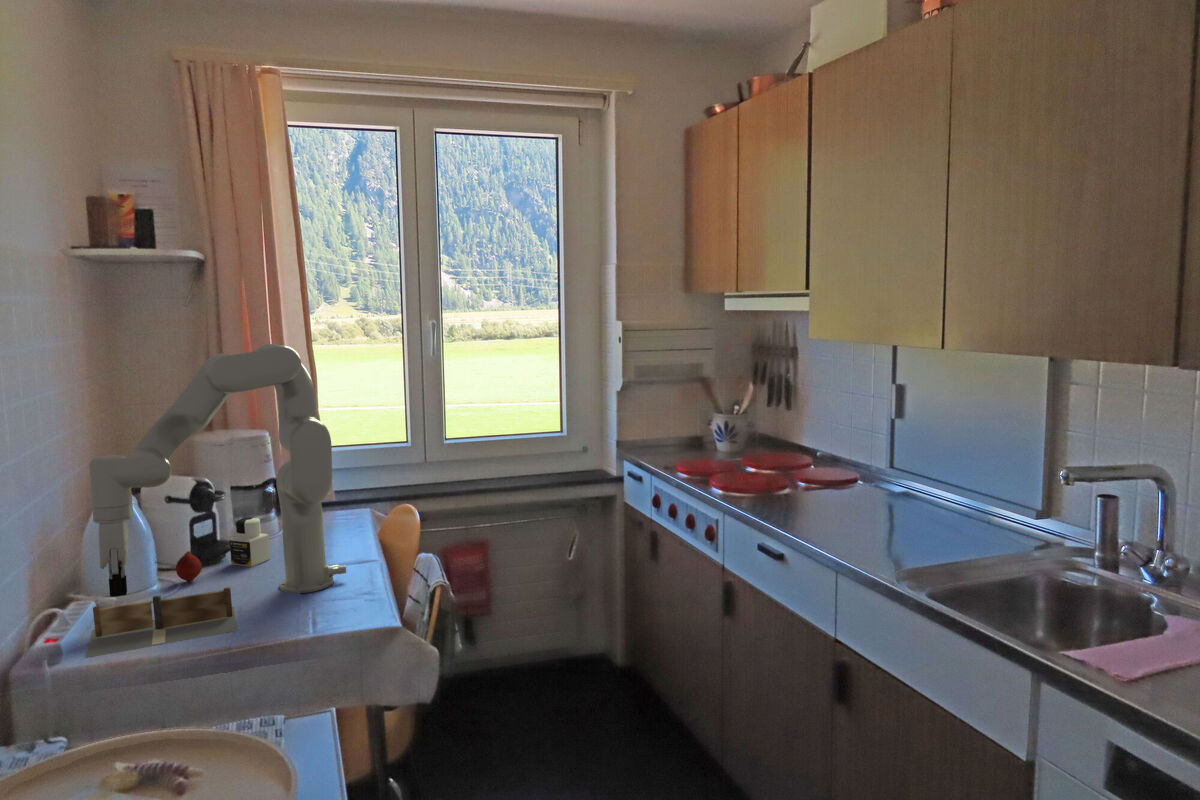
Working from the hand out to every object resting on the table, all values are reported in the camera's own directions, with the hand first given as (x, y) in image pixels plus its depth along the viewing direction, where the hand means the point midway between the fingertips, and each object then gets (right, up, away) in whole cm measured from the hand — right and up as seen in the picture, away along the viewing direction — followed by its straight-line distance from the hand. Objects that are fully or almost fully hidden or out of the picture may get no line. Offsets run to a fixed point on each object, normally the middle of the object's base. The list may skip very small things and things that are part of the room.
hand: (118, 594), depth 185 cm
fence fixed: (+16, -6, +1) cm, 17 cm away
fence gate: (+4, -7, -5) cm, 9 cm away
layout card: (+12, -7, -3) cm, 14 cm away
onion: (+1, -4, +29) cm, 29 cm away
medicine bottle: (+10, -2, +45) cm, 46 cm away
